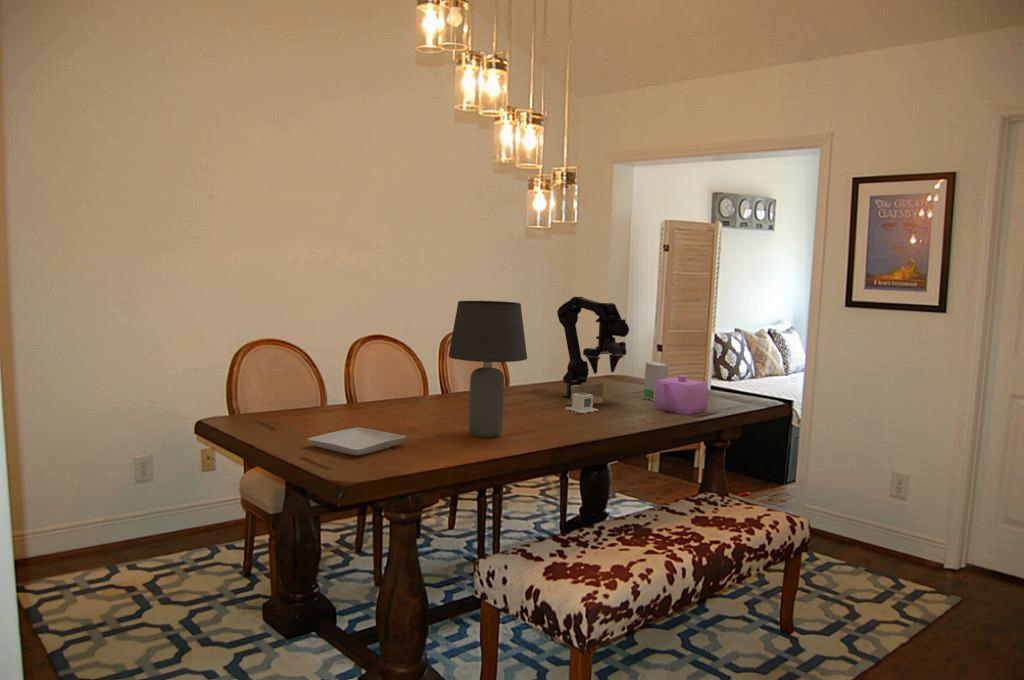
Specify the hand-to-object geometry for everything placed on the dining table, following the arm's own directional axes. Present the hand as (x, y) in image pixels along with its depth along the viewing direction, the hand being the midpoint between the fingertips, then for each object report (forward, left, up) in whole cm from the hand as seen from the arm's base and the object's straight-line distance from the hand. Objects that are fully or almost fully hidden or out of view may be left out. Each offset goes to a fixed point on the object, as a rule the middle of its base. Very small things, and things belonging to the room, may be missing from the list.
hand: (603, 372), depth 306 cm
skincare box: (+2, +29, -13) cm, 32 cm away
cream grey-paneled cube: (+6, -16, -12) cm, 21 cm away
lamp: (+23, -73, -13) cm, 78 cm away
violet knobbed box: (+24, +19, -13) cm, 33 cm away
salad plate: (+17, -115, -14) cm, 117 cm away
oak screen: (-4, -5, -13) cm, 14 cm away
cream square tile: (+6, -16, -13) cm, 22 cm away
